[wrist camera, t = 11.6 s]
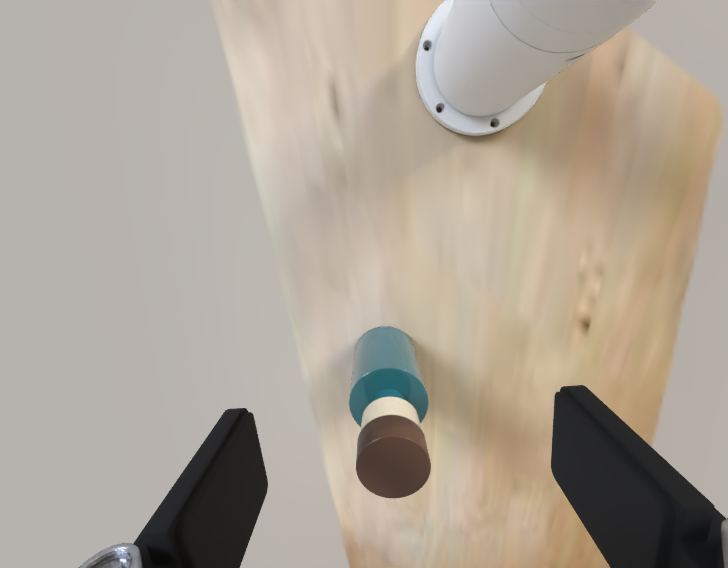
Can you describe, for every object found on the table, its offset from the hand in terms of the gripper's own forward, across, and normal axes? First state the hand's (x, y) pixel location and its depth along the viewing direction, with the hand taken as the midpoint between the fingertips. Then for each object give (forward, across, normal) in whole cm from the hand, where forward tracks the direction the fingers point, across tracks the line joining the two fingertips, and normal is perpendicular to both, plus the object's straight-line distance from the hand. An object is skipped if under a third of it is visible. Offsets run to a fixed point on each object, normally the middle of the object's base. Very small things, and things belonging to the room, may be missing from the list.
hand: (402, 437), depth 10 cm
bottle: (+28, +1, +11) cm, 30 cm away
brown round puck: (+13, +1, +11) cm, 17 cm away
